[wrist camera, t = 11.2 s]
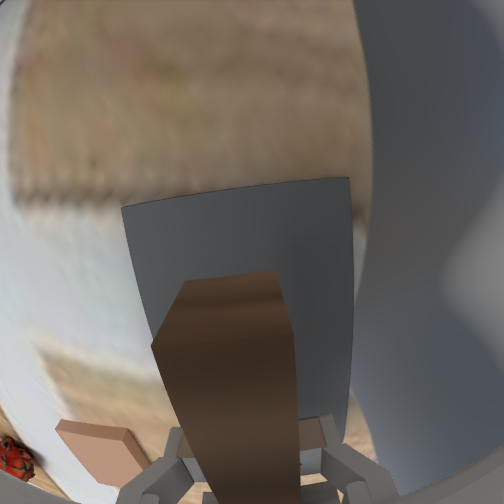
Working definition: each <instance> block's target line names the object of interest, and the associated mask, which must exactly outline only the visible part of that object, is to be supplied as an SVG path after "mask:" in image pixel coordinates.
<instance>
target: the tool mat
mask: <svg viewBox="0 0 504 504" xmlns="http://www.w3.org/2000/svg"><path fill="white" fill-rule="evenodd" d="M121 211H122V217H123V222H124V227H125V232H126V237H127V242H128V246H129V251H130V255H131V260H132V264H133V268H134V272H135V276H136V280H137V284H138V288H139V292H140V296H141V299H142V303H143V307H144V310H145V314H146V317H147V320H148V324H149V327H150V330H151V334H152V337H153V340H154V338H155V336H156V334H157V332H158V330H159V328H160V327H161V325H162V323H163V321H164V319H165V317H166V315H167V313H168V311H169V309H170V308H171V306H172V304H173V302H174V300H175V298H176V296H177V295H178V293H179V291H180V289H181V287H182V285H183V284H184V282H185V281H188V280H196V279H205V278H214V277H223V276H231V275H239V274H248V273H256V272H264V271H272V270H276V274H277V277H278V281H279V284H280V287H281V291H282V294H283V298H284V301H285V305H286V308H287V312H288V315H289V319H290V322H291V326H292V329H293V333H294V347H295V363H296V380H297V398H298V419H302V418H308V417H314V416H320V415H325V414H330V413H331V414H332V416H333V419H334V422H335V425H336V428H337V431H338V434H339V437H340V440H341V443H343V439H344V431H345V424H346V415H347V406H348V397H349V386H350V373H351V359H352V341H353V311H354V263H353V232H352V214H351V199H350V186H349V177H338V178H325V179H314V180H303V181H293V182H284V183H274V184H266V185H257V186H249V187H242V188H234V189H227V190H220V191H213V192H206V193H200V194H193V195H187V196H181V197H175V198H169V199H163V200H158V201H152V202H147V203H142V204H136V205H131V206H126V207H123V208H121Z"/></svg>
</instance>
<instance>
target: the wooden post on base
mask: <svg viewBox="0 0 504 504" xmlns="http://www.w3.org/2000/svg"><path fill="white" fill-rule="evenodd" d="M151 348H152V351H153V354H154V357H155V360H156V363H157V366H158V369H159V372H160V375H161V377H162V380H163V383H164V386H165V388H166V391H167V393H168V396H169V399H170V401H171V404H172V406H173V409H174V411H175V414H176V416H177V418H178V421H179V423H180V426H181V428H182V430H183V432H184V435H185V437H186V439H187V441H188V444H189V446H190V448H191V450H192V452H193V454H194V456H195V459H196V461H197V463H198V465H199V467H200V469H201V471H202V473H203V475H204V477H205V479H206V481H207V483H208V484H209V486H210V488H211V490H212V492H203V499H202V504H340V500H339V496H338V492H337V488H336V487H335V486H334V485H332V484H331V483H330V482H329V481H326V482H320V483H315V484H309V485H303V486H300V446H299V420H298V398H297V380H296V363H295V347H294V333H293V329H292V326H291V322H290V319H289V315H288V312H287V308H286V305H285V301H284V298H283V294H282V291H281V287H280V284H279V281H278V277H277V274H276V270H272V271H264V272H256V273H248V274H239V275H231V276H223V277H214V278H205V279H196V280H188V281H185V282H184V284H183V285H182V287H181V289H180V291H179V293H178V295H177V296H176V298H175V300H174V302H173V304H172V306H171V308H170V309H169V311H168V313H167V315H166V317H165V319H164V321H163V323H162V325H161V327H160V328H159V330H158V332H157V334H156V336H155V338H154V340H153V342H152V344H151Z"/></svg>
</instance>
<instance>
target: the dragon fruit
mask: <svg viewBox="0 0 504 504" xmlns="http://www.w3.org/2000/svg"><path fill="white" fill-rule="evenodd" d="M31 458H34V456H33V455H30V454H29V453H28V452H27V451H26V450H24V449H20V448H17V447H15V446H14V443H13V440H12V439H11V438H3V441H0V469H1V470H3V471H5V472H7V473H8V474H10V475H12V476H14V477H16V478H18V479H20V480H22V481H25V482H28V480H29V479H31V478H33V477H34V476H35V474H34V465H33V464H32V463H31V462H30V460H31Z"/></svg>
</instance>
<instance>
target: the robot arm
mask: <svg viewBox="0 0 504 504" xmlns="http://www.w3.org/2000/svg"><path fill="white" fill-rule="evenodd" d="M1 1H2V0H0V2H1ZM298 420H299V446H300V476H303V475H310V474H317V473H321V475H322V476H324V477H325V478H326V479H327V480H328V481H329V482H330V483H331V484H332V485H334V486H335V487H336V488H337V489H338V490H339V491H340V492H342V493H343V494H344V496H343V500H342V503H341V504H504V444H503V445H502V446H500V447H499V448H497V449H496V450H494V451H492V452H491V453H489V454H488V455H486V456H484V457H483V458H481V459H479V460H478V461H476V462H474V463H473V464H471V465H469V466H467V467H465V468H463V469H461V470H460V471H458V472H456V473H454V474H452V475H450V476H448V477H445V478H443V479H441V480H439V481H437V482H435V483H433V484H430V485H428V486H426V487H423V488H421V489H419V490H416V491H414V492H411V493H409V494H406V495H403V496H399V493H398V491H397V488H396V486H395V484H394V481H393V478H392V476H391V473H390V472H389V471H388V470H386V469H385V468H383V467H382V466H380V465H378V464H377V463H375V462H374V461H372V460H370V459H369V458H367V457H366V456H364V455H362V454H361V453H359V452H358V451H356V450H355V449H353V448H352V447H350V446H349V445H347V444H346V443H345V444H341V440H340V437H339V434H338V431H337V428H336V425H335V422H334V419H333V416H332V414H331V413H330V414H325V415H320V416H314V417H308V418H302V419H298ZM194 482H207V481H206V479H205V477H204V475H203V473H202V471H201V469H200V467H199V465H198V463H197V461H196V459H195V456H194V454H193V452H192V450H191V448H190V446H189V444H188V441H187V439H186V437H185V435H184V432H183V430H182V428H181V427H172V428H171V429H170V433H169V436H168V440H167V444H166V448H165V452H164V455H163V457H159V458H158V459H157V460H156V461H154V462H153V463H152V464H151V465H149V466H148V467H147V468H146V469H145V470H143V471H142V472H141V473H140V474H138V475H137V476H136V477H135V478H133V479H132V480H131V481H129V482H128V483H127V484H126V485H124V486H123V487H122V488H121V489H120V492H119V495H118V498H117V501H116V504H177V503H178V501H179V500H180V499H181V498H182V497H183V496H184V495H185V494H186V492H187V491H188V490H189V489H190V488H191V487H192V485H193V484H194ZM0 504H81V503H77V502H74V501H71V500H69V499H66V498H63V497H60V496H58V495H55V494H52V493H50V492H47V491H45V490H42V489H40V488H38V487H35V486H33V485H31V484H29V483H27V482H25V481H22V480H20V479H18V478H16V477H14V476H12V475H10V474H8V473H7V472H5V471H3V470H1V469H0Z"/></svg>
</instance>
